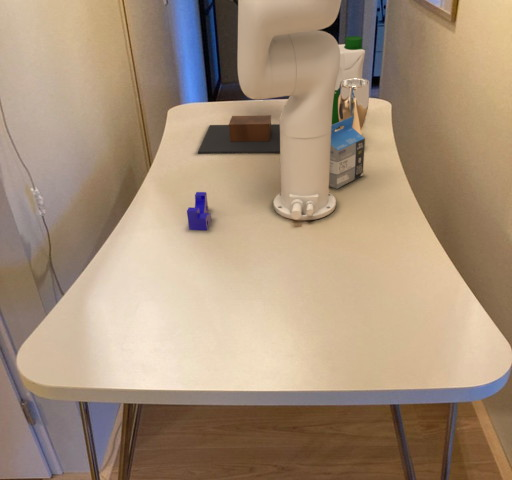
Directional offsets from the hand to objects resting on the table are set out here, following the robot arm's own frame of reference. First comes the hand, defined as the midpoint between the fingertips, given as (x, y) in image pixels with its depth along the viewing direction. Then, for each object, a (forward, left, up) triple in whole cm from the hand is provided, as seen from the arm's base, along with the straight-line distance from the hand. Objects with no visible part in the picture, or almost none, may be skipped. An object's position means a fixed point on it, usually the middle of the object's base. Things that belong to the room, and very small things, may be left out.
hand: (248, 28), depth 124 cm
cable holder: (-42, +6, -25) cm, 49 cm away
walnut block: (0, +6, -22) cm, 23 cm away
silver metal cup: (-6, -24, -25) cm, 35 cm away
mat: (0, +2, -25) cm, 25 cm away
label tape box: (-24, -22, -25) cm, 41 cm away
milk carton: (+11, -22, -25) cm, 35 cm away
